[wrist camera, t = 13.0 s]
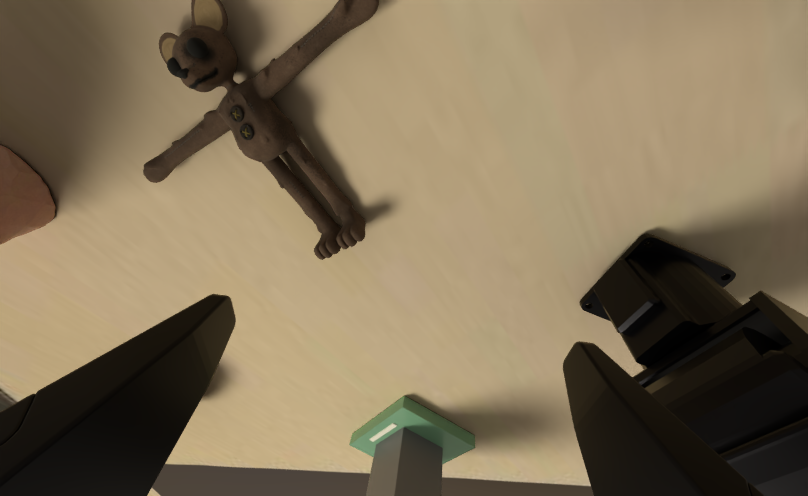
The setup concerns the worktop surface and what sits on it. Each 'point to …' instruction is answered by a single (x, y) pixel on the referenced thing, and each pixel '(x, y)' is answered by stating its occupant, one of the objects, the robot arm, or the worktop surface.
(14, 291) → the worktop surface
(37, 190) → the ice cream cone
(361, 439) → the header board
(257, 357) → the worktop surface
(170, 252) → the worktop surface
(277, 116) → the brown clay figure
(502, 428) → the worktop surface
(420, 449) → the grey rectangular block
